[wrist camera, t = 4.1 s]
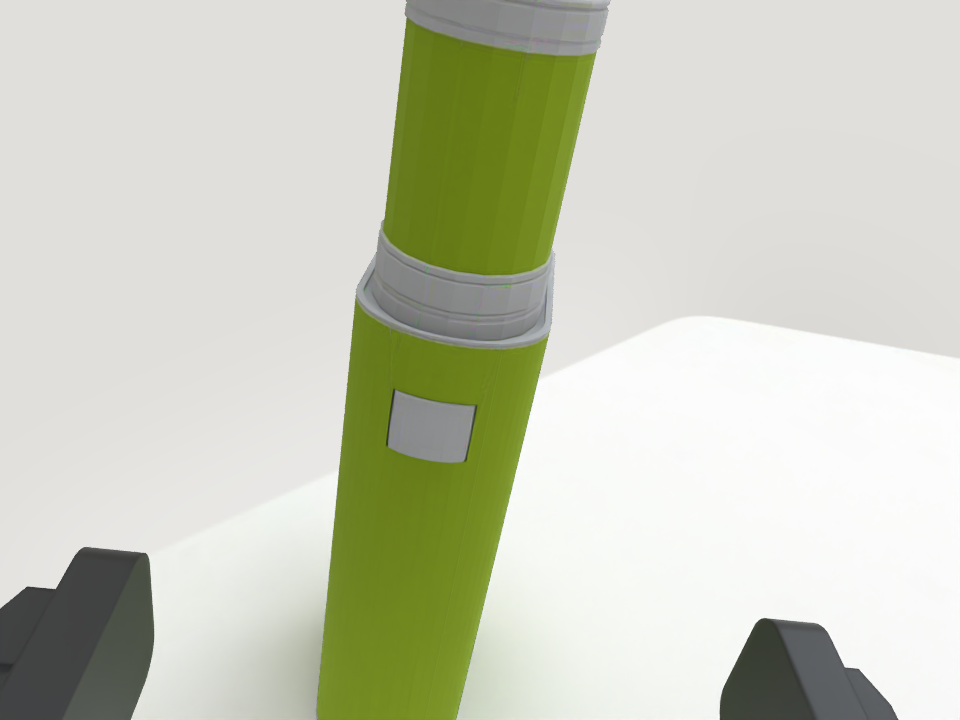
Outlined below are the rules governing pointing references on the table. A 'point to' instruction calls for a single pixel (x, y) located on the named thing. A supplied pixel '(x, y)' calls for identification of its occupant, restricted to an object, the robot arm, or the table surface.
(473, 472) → the vape
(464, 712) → the table surface
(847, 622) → the table surface
